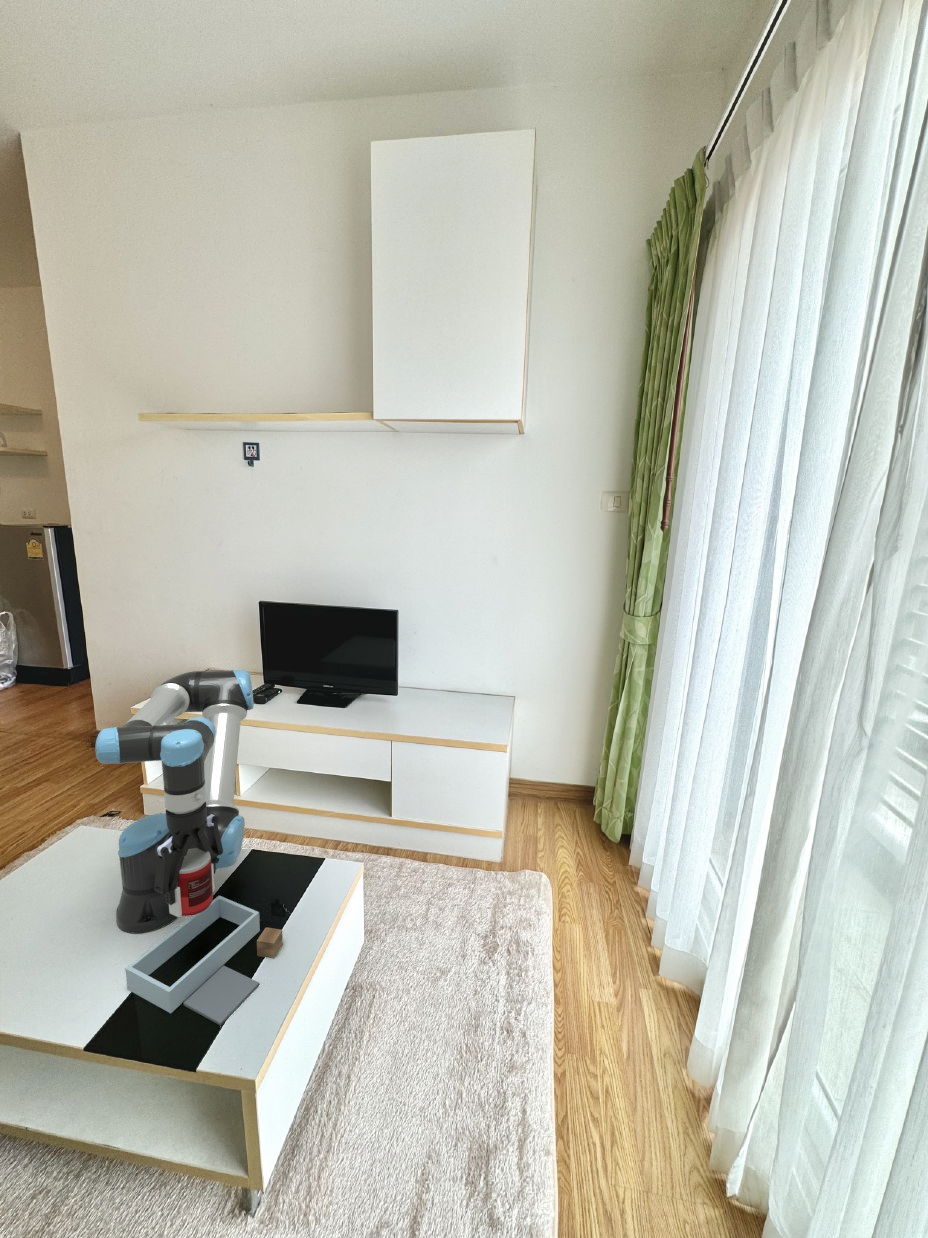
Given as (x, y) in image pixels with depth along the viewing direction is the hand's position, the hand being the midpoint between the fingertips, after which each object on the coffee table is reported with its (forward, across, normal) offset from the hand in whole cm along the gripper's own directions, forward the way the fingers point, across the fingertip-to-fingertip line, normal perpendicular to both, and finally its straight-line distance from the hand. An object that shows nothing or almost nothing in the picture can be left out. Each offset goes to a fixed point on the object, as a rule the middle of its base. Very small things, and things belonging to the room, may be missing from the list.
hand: (192, 901), depth 115 cm
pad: (+14, -4, -12) cm, 19 cm away
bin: (+14, 0, 0) cm, 14 cm away
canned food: (+1, 0, 0) cm, 1 cm away
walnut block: (+15, +9, -13) cm, 21 cm away
